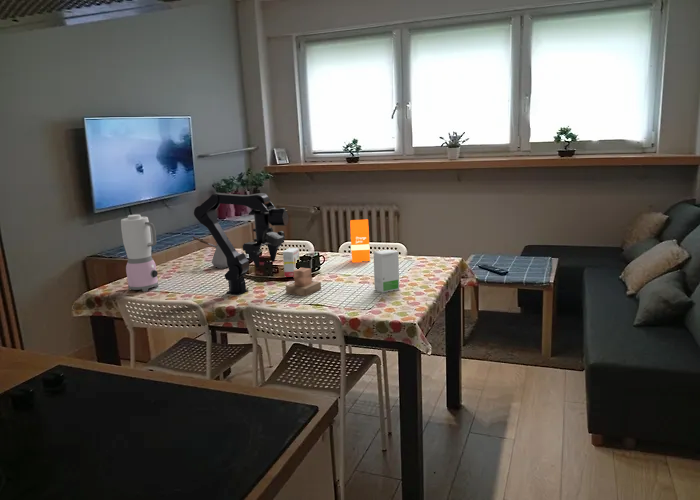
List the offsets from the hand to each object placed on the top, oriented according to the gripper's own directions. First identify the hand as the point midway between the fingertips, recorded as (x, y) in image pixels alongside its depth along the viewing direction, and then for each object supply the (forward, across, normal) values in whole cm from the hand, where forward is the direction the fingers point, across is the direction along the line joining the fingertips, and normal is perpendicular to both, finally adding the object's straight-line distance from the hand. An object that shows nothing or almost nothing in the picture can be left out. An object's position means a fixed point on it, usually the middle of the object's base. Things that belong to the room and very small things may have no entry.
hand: (265, 264), depth 222 cm
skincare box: (+12, +23, -42) cm, 49 cm away
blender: (+12, -16, +55) cm, 59 cm away
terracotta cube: (+9, +8, -12) cm, 17 cm away
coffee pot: (+12, +25, +56) cm, 63 cm away
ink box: (+12, +26, +8) cm, 30 cm away
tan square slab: (+12, +8, -12) cm, 19 cm away
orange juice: (+12, +62, -6) cm, 63 cm away
